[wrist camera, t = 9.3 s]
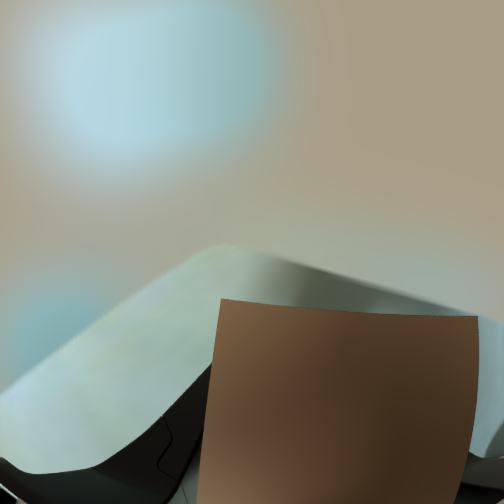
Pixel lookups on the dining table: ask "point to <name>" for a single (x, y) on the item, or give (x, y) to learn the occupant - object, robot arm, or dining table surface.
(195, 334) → the dining table surface
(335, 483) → the walnut block
